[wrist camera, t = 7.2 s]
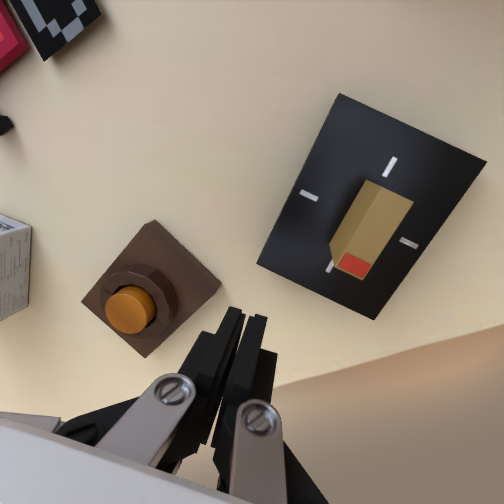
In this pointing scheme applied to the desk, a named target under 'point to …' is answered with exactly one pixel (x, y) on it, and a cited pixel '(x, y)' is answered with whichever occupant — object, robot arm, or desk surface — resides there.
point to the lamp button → (130, 309)
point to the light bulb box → (13, 266)
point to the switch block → (155, 285)
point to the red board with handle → (42, 29)
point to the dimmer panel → (345, 191)
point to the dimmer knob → (367, 228)
